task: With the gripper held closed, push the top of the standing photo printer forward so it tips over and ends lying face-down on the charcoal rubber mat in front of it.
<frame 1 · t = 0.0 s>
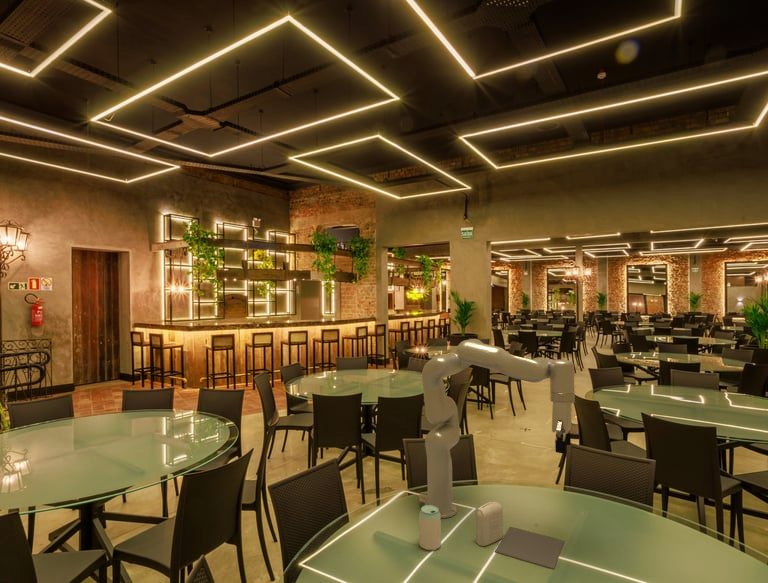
hand: (563, 448, 145), 31 cm above the table, tool pointing down, fingers open, 9 cm apart
can: (430, 546, 143), on the table
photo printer: (489, 541, 146), on the table
rubber mat: (530, 546, 142), on the table
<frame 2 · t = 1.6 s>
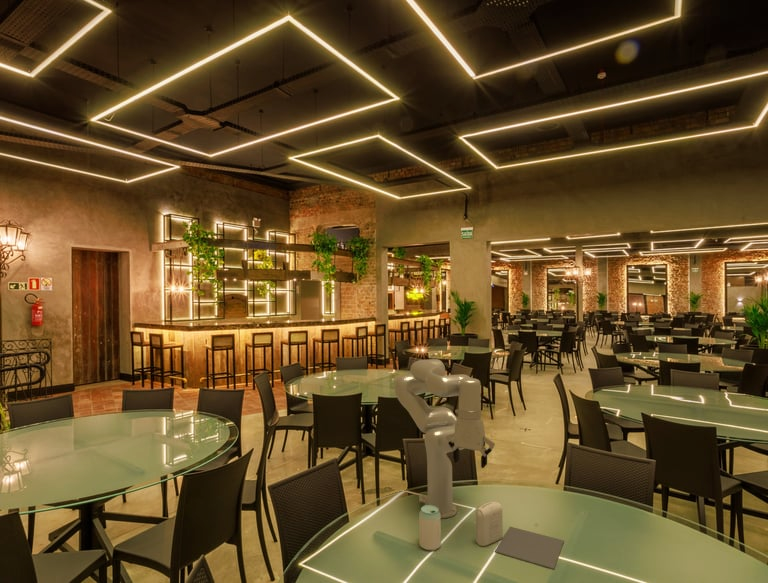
hand: (470, 464, 150), 24 cm above the table, tool pointing down, fingers open, 9 cm apart
nothing on the table moved.
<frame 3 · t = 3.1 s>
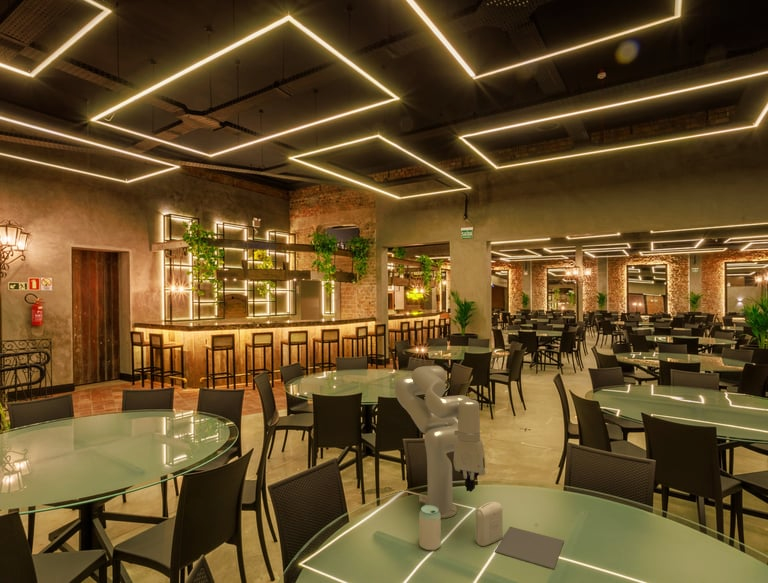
hand: (470, 489, 150), 16 cm above the table, tool pointing down, fingers closed
nothing on the table moved.
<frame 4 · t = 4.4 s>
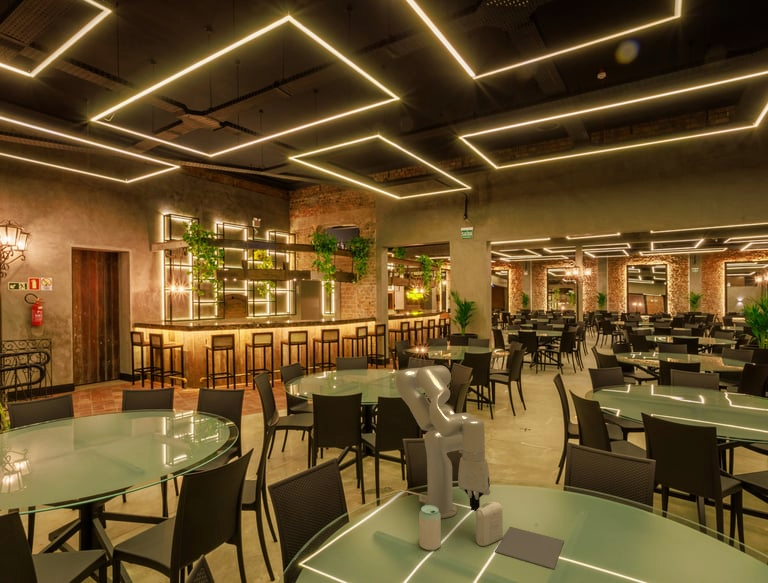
hand: (474, 509, 149), 9 cm above the table, tool pointing down, fingers closed
nothing on the table moved.
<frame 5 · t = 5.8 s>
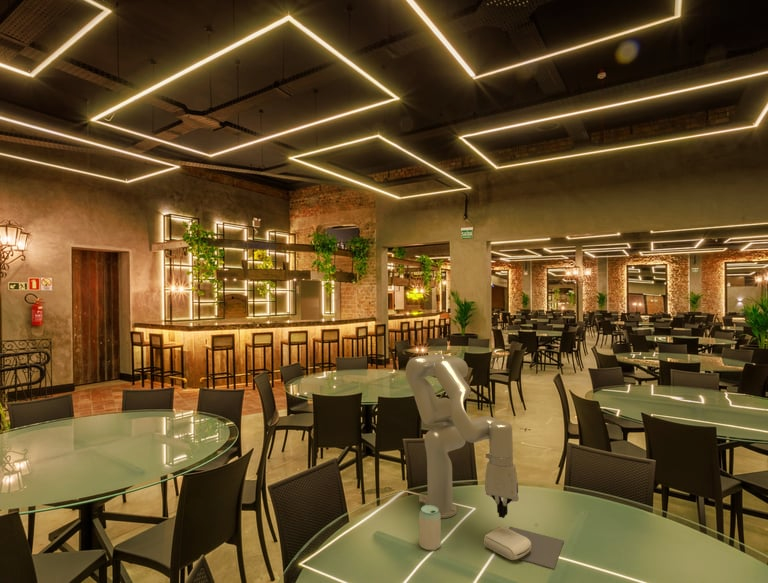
hand: (502, 515, 144), 9 cm above the table, tool pointing down, fingers closed
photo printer: (492, 535, 145), point 3 cm above the table, touching rubber mat
everything else where it was.
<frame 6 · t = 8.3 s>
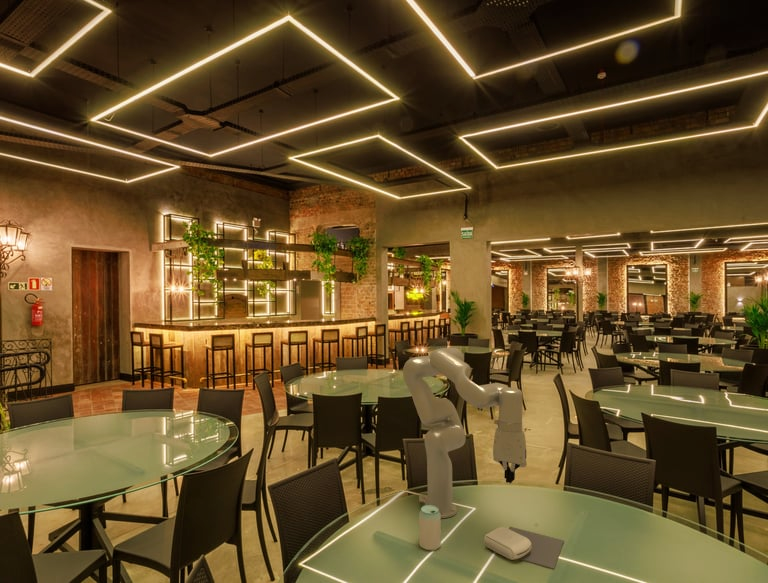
hand: (509, 481, 143), 21 cm above the table, tool pointing down, fingers closed
nothing on the table moved.
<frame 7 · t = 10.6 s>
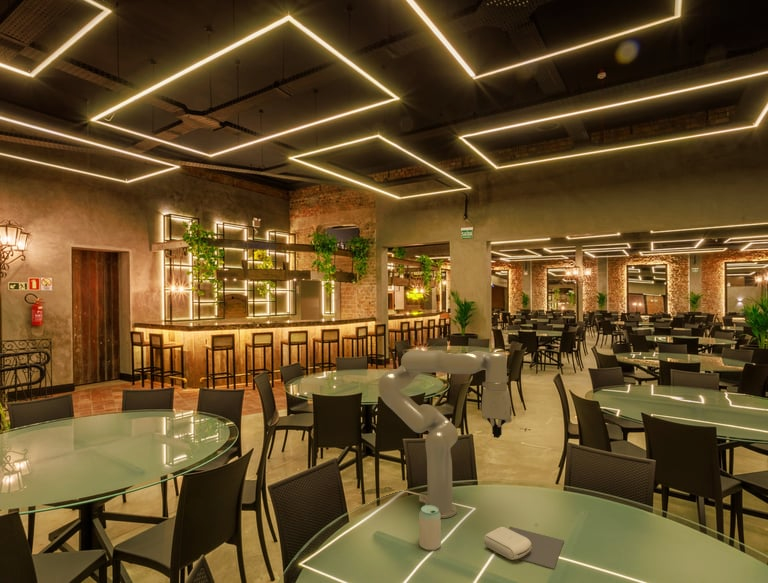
hand: (497, 436, 159), 31 cm above the table, tool pointing down, fingers closed
nothing on the table moved.
at the end: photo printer tilted 90°; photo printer inside the target area (1.7 cm from its centre), point 2.5 cm above the table; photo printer touching rubber mat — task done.
